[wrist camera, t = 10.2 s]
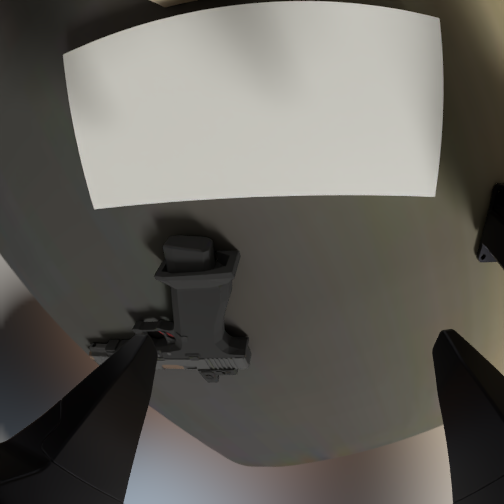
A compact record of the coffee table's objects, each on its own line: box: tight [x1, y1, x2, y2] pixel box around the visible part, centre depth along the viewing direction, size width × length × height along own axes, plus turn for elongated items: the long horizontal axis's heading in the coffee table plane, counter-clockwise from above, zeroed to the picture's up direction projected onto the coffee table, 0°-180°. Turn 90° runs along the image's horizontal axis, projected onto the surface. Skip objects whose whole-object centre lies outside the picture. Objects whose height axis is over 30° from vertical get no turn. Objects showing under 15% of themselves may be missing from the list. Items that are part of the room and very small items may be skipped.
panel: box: [63, 1, 443, 209], centre depth 14 cm, size 20×10×3 cm, turn 95°
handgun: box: [89, 235, 251, 382], centre depth 25 cm, size 3×21×15 cm
